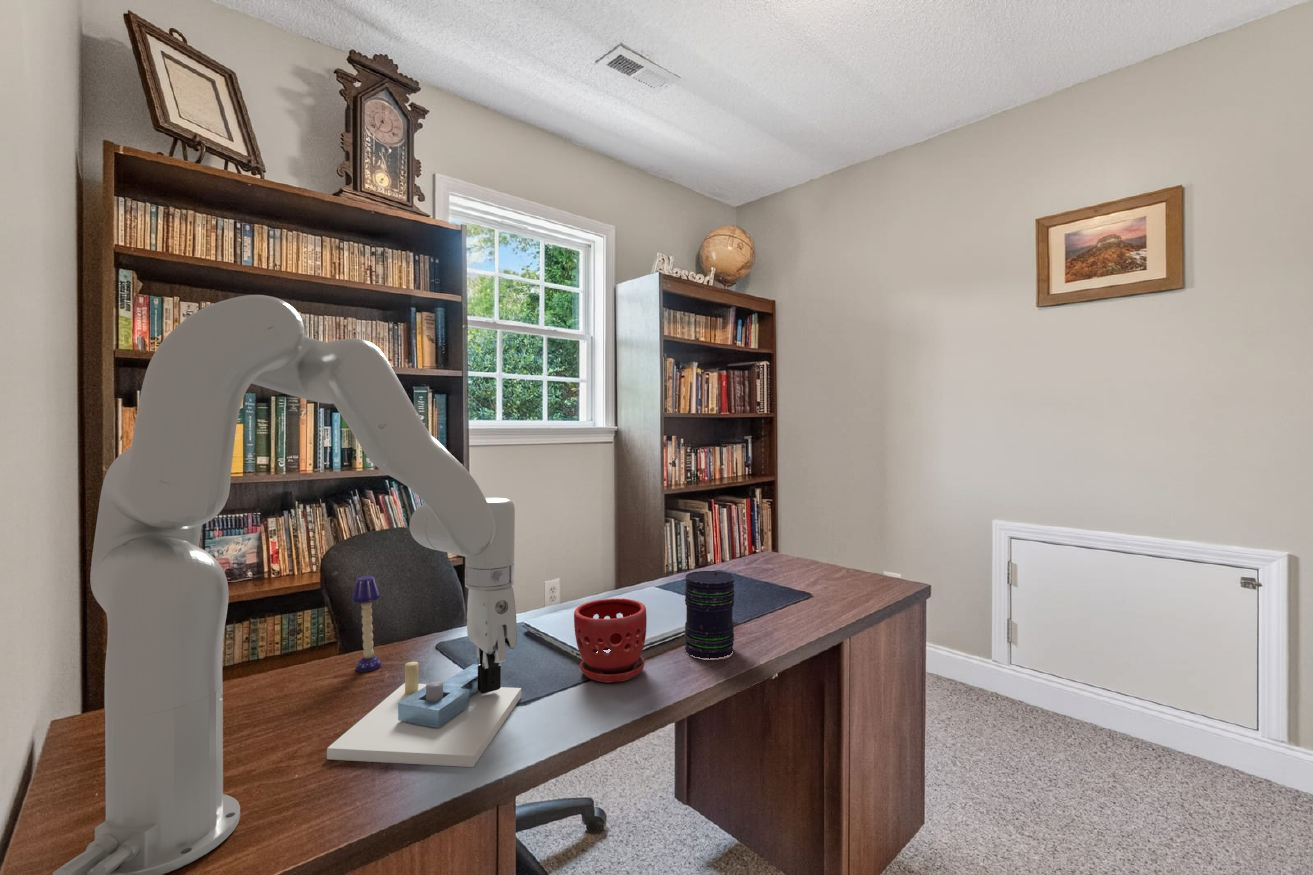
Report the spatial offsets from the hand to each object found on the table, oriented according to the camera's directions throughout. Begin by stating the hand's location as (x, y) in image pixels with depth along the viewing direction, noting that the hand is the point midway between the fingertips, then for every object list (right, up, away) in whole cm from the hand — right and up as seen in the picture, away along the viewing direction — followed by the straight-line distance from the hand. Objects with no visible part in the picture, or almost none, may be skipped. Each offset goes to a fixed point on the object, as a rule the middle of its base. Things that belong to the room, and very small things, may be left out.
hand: (489, 689), depth 93 cm
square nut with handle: (-5, 0, -3) cm, 6 cm away
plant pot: (+18, -3, +12) cm, 22 cm away
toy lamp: (-27, -2, +14) cm, 30 cm away
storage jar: (+37, -3, +23) cm, 44 cm away
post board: (-6, -2, -7) cm, 9 cm away
